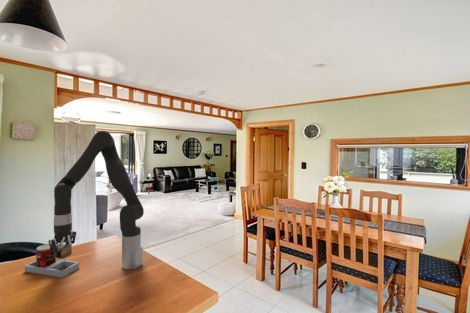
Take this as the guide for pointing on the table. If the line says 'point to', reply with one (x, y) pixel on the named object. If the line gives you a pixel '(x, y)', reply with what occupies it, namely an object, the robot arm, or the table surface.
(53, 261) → the canned food
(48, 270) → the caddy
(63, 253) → the walnut cube
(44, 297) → the table surface
